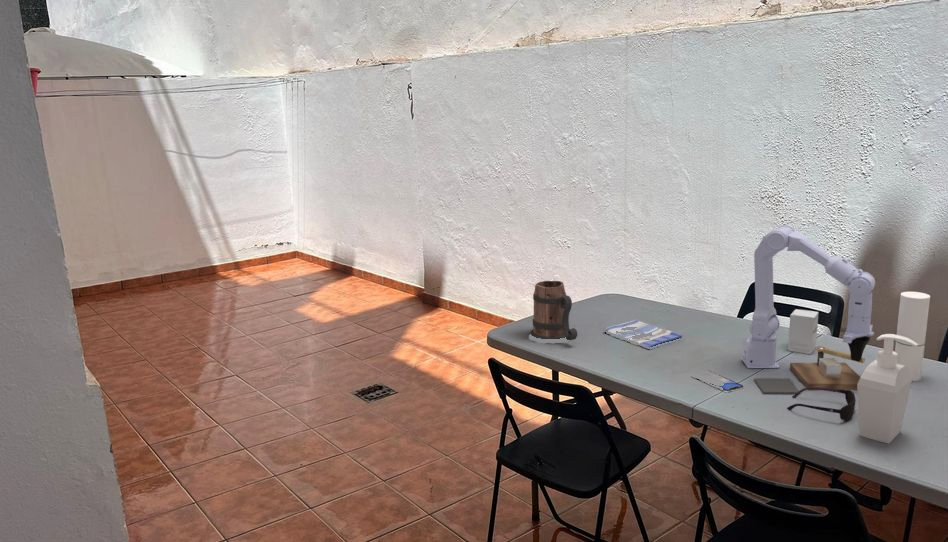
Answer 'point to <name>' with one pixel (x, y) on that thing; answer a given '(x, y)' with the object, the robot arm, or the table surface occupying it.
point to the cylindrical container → (912, 331)
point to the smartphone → (728, 384)
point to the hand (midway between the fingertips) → (855, 360)
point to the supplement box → (803, 331)
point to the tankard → (552, 312)
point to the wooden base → (815, 379)
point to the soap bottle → (884, 393)
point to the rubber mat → (776, 385)
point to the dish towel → (657, 338)
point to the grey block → (829, 368)
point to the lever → (837, 353)
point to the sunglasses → (844, 412)
